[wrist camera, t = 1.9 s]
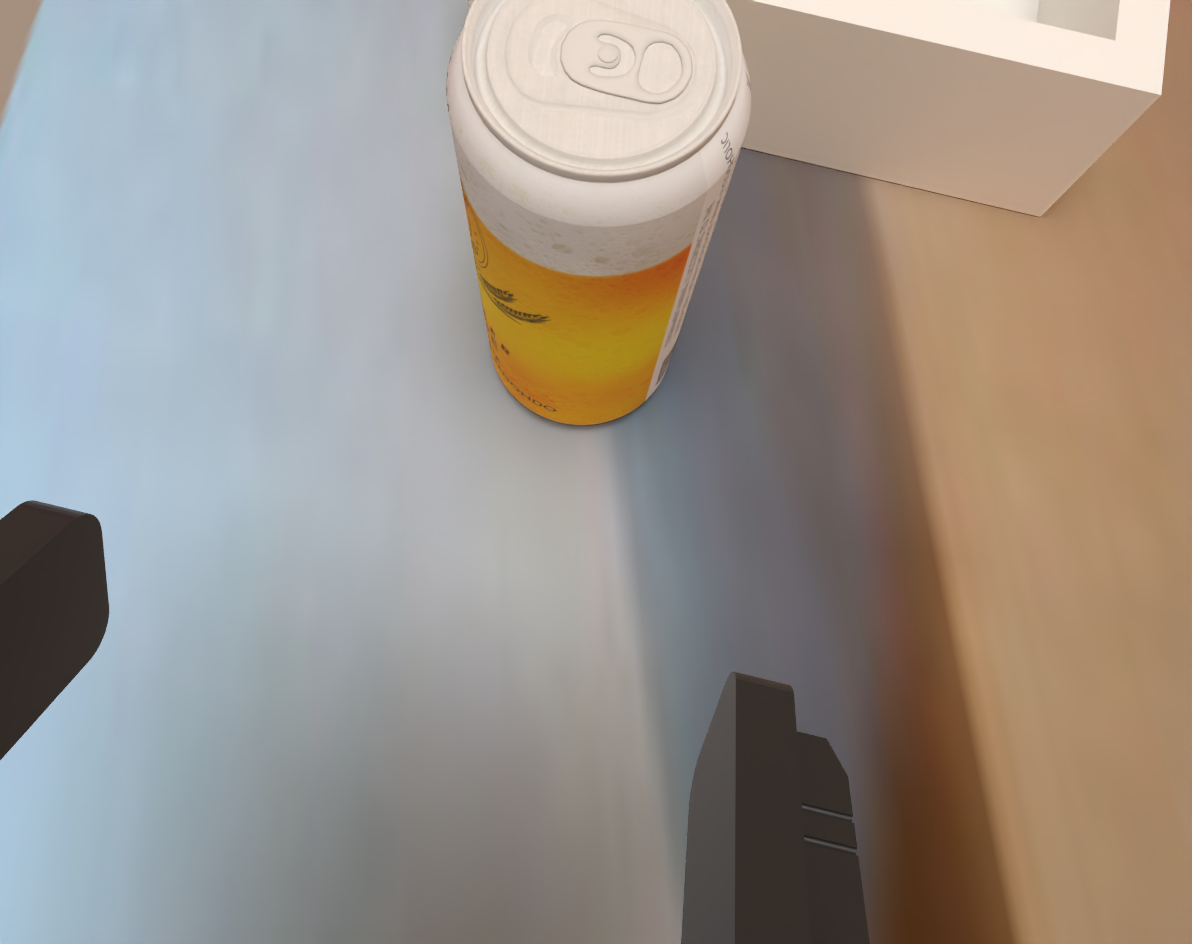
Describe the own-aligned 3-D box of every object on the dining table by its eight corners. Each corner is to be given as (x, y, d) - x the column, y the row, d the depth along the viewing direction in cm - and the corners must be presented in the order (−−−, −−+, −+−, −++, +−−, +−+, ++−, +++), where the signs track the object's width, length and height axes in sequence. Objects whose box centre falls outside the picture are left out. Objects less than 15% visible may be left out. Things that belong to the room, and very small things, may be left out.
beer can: (516, 248, 33) (485, -116, 18) (684, 287, 33) (789, -47, 18) (471, 408, 31) (400, 151, 17) (648, 450, 31) (730, 227, 17)
